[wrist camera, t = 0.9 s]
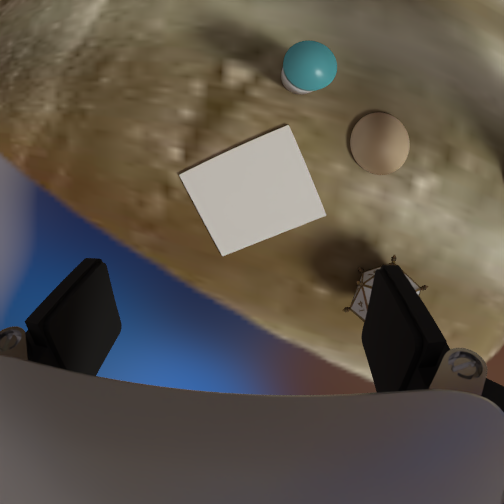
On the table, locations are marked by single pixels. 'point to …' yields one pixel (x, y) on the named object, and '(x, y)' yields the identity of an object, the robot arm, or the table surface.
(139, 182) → the table surface
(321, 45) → the marker
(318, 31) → the table surface
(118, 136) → the table surface
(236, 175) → the paper
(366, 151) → the disc
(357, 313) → the game die
